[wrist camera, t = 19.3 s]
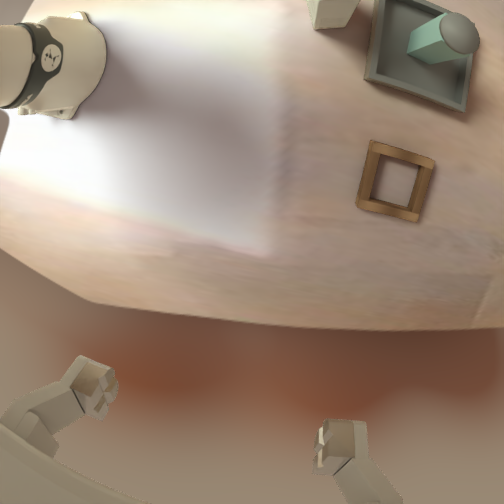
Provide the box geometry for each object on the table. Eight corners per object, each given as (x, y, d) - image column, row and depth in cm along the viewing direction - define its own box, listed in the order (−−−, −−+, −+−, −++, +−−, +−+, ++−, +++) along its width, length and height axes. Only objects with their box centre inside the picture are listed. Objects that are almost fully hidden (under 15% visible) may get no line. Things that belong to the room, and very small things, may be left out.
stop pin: (402, 55, 29) (439, 40, 19) (408, 27, 27) (445, 5, 17) (432, 68, 29) (476, 61, 18) (437, 41, 27) (481, 26, 16)
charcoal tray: (363, 79, 32) (368, 77, 30) (375, -9, 26) (380, -16, 23) (454, 111, 31) (464, 112, 29) (464, 27, 25) (474, 23, 22)
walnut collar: (355, 202, 40) (357, 207, 38) (370, 140, 36) (373, 141, 34) (412, 217, 39) (416, 222, 38) (429, 158, 35) (434, 160, 33)
